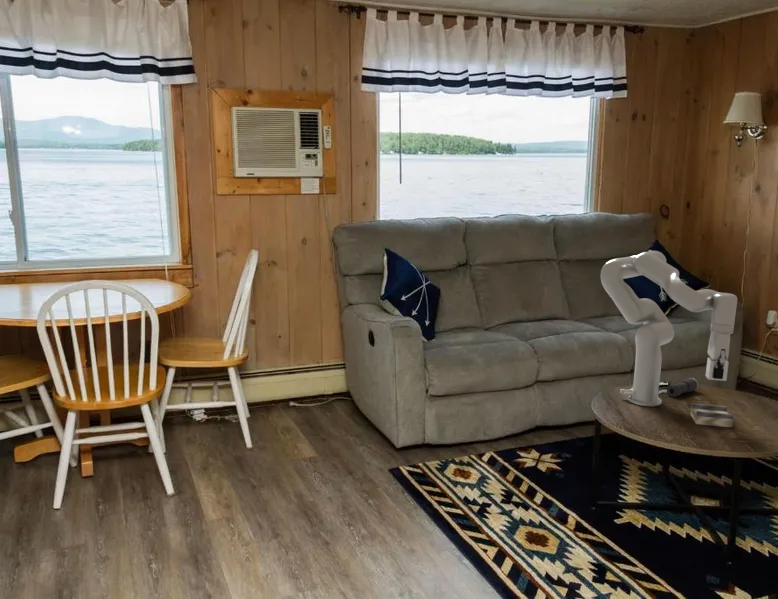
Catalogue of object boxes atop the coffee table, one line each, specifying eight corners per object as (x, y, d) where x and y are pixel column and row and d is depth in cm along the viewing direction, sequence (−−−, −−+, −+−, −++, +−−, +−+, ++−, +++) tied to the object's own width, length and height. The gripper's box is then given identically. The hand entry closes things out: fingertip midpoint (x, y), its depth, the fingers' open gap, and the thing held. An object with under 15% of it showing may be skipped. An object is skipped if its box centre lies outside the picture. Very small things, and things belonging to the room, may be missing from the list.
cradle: (696, 424, 245) (697, 412, 244) (690, 414, 255) (691, 403, 254) (732, 427, 243) (733, 415, 242) (724, 417, 252) (726, 405, 252)
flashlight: (676, 399, 272) (678, 386, 271) (664, 395, 276) (665, 382, 275) (697, 392, 281) (698, 379, 280) (685, 388, 285) (686, 376, 284)
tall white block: (708, 379, 244) (710, 360, 243) (705, 375, 249) (707, 357, 247) (727, 381, 243) (729, 362, 242) (723, 377, 247) (726, 358, 246)
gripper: (705, 321, 251) (699, 368, 255) (716, 332, 235) (710, 382, 238) (726, 323, 249) (720, 370, 253) (740, 334, 233) (733, 384, 237)
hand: (715, 375), depth 246 cm, fingers closed on tall white block, 4 cm apart
